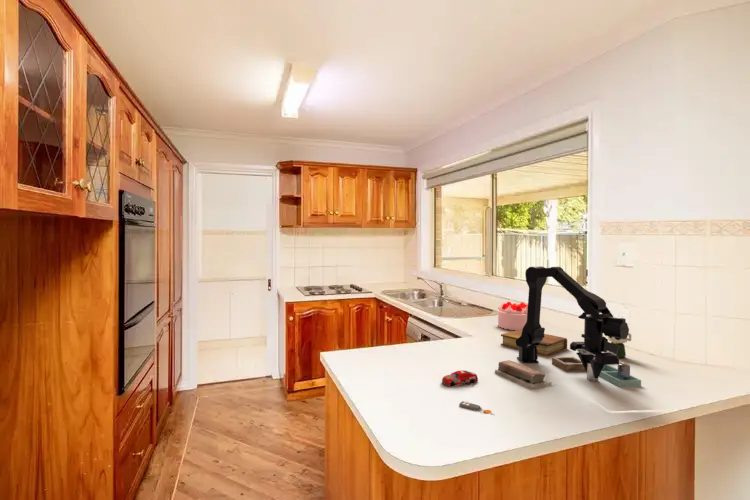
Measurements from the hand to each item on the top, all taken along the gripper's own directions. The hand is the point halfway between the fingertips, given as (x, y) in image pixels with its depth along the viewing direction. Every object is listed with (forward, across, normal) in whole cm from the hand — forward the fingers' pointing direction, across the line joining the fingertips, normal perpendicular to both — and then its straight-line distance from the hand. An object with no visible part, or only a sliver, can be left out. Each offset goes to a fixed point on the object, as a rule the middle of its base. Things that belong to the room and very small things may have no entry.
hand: (592, 376), depth 133 cm
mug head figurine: (+2, +27, -30) cm, 40 cm away
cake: (+2, +84, -11) cm, 85 cm away
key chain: (+3, -20, +48) cm, 52 cm away
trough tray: (+2, +2, -9) cm, 9 cm away
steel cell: (+2, 0, 0) cm, 2 cm away
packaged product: (+2, +4, +24) cm, 25 cm away
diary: (+2, +44, -1) cm, 44 cm away
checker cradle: (+2, +14, 0) cm, 14 cm away
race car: (+2, +2, +48) cm, 48 cm away
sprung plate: (+2, +14, 0) cm, 14 cm away
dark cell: (+1, -4, -9) cm, 10 cm away
